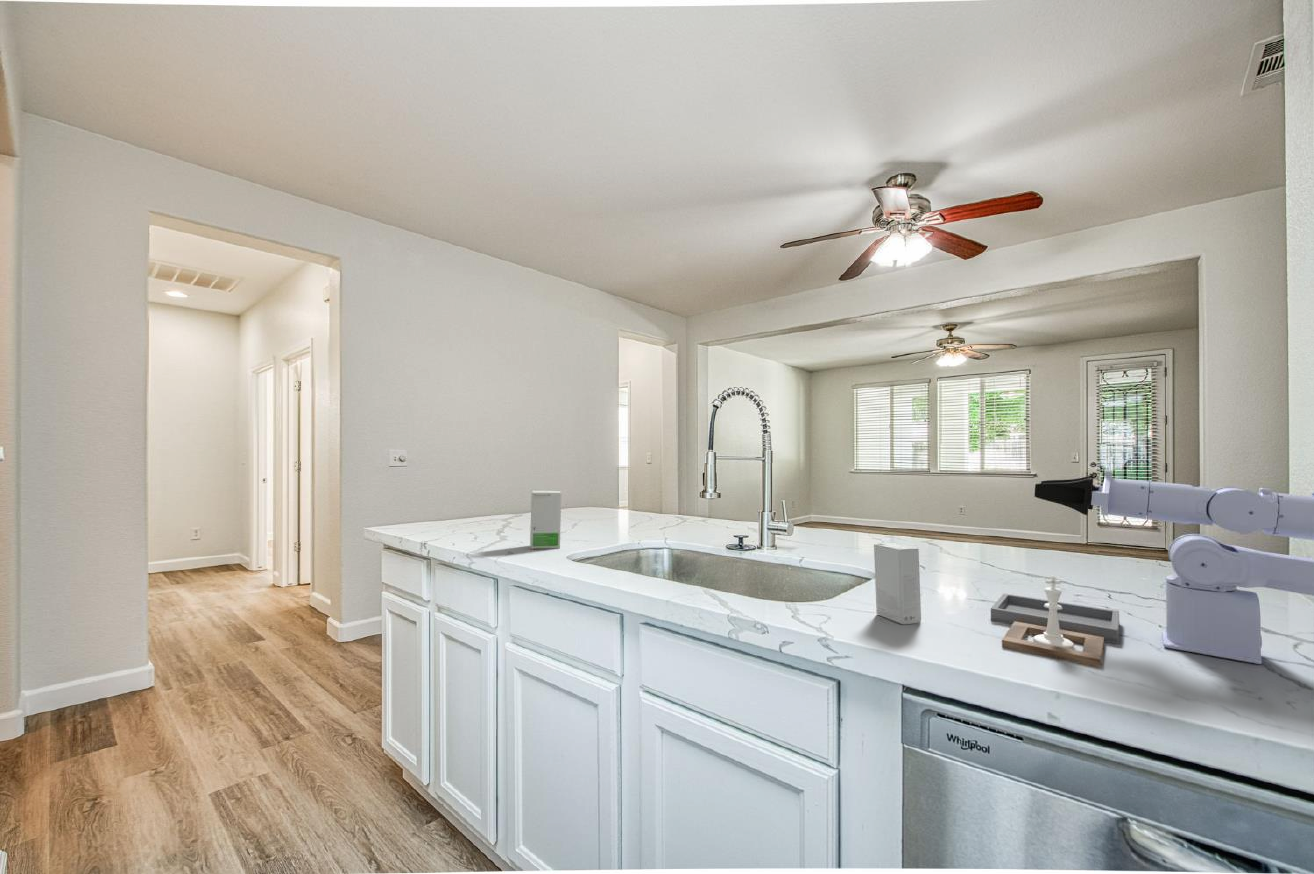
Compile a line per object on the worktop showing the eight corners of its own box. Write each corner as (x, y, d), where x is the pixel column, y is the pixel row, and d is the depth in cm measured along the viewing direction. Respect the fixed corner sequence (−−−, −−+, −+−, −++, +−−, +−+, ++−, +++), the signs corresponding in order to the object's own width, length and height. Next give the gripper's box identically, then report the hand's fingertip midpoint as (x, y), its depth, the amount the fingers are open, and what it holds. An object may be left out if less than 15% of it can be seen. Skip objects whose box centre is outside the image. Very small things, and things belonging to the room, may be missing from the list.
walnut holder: (1104, 644, 80) (1103, 637, 80) (1100, 667, 72) (1100, 659, 72) (1014, 627, 87) (1014, 621, 87) (1001, 646, 79) (1001, 639, 79)
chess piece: (1082, 653, 76) (1081, 581, 76) (1042, 650, 77) (1042, 579, 77) (1063, 640, 81) (1063, 573, 81) (1026, 638, 82) (1026, 571, 82)
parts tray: (1119, 623, 89) (1119, 611, 89) (1117, 643, 80) (1117, 630, 80) (1003, 604, 100) (1003, 593, 100) (990, 620, 90) (990, 608, 90)
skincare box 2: (922, 622, 89) (922, 547, 90) (900, 625, 88) (900, 549, 88) (894, 611, 95) (893, 541, 95) (873, 614, 94) (873, 543, 94)
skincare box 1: (530, 549, 150) (530, 492, 150) (530, 545, 157) (530, 490, 157) (561, 548, 152) (561, 491, 152) (559, 544, 159) (560, 489, 159)
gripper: (1148, 471, 88) (1045, 463, 97) (1151, 476, 77) (1034, 466, 86) (1144, 515, 88) (1041, 503, 97) (1146, 526, 77) (1030, 511, 86)
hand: (1037, 488), depth 91 cm, fingers open, 7 cm apart
